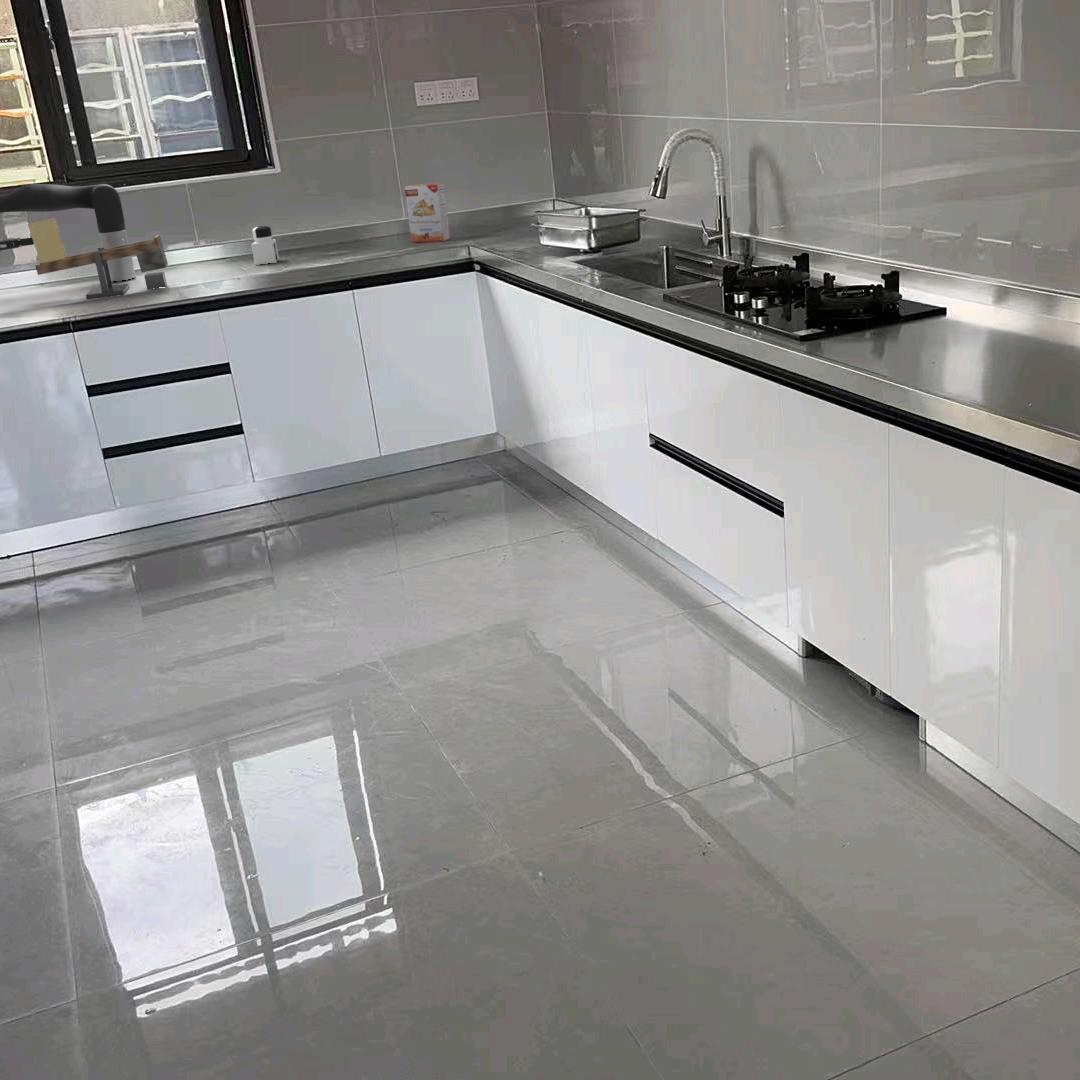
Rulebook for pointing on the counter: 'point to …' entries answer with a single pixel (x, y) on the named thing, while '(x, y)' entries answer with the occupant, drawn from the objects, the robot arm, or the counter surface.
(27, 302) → the counter surface
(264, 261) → the container
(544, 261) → the counter surface
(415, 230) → the cracker box
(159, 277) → the pivot stand
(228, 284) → the counter surface
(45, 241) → the rider
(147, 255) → the beam
